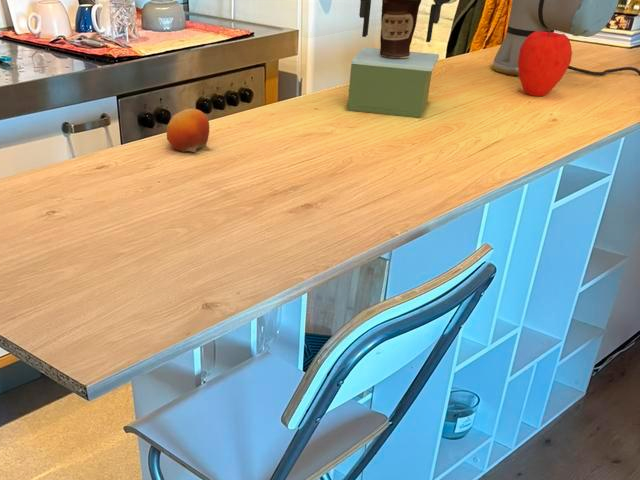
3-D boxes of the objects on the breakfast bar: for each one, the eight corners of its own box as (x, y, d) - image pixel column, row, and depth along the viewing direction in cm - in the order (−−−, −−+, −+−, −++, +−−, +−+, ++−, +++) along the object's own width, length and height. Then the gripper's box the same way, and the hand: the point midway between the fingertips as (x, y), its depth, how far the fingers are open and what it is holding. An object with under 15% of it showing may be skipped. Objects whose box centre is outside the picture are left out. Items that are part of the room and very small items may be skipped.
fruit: (202, 151, 147) (182, 106, 144) (172, 167, 152) (153, 124, 149) (226, 141, 152) (208, 97, 149) (197, 157, 157) (179, 115, 155)
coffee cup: (412, 62, 171) (423, -11, 163) (373, 59, 172) (381, -14, 164) (415, 54, 178) (424, -17, 169) (377, 51, 179) (385, -19, 170)
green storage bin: (427, 102, 185) (434, 57, 179) (420, 117, 174) (427, 71, 169) (358, 95, 188) (362, 51, 182) (347, 110, 177) (351, 64, 172)
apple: (564, 92, 196) (580, 28, 188) (559, 102, 188) (575, 36, 179) (514, 86, 199) (528, 23, 191) (507, 96, 191) (520, 31, 182)
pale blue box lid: (438, 58, 179) (439, 54, 178) (431, 71, 168) (432, 67, 168) (362, 51, 182) (363, 47, 181) (351, 63, 172) (351, 59, 171)
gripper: (345, -88, 158) (335, 36, 172) (474, -81, 154) (453, 46, 167) (352, -90, 164) (342, 30, 178) (477, -83, 159) (457, 40, 173)
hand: (396, 38), depth 173 cm, fingers open, 13 cm apart
